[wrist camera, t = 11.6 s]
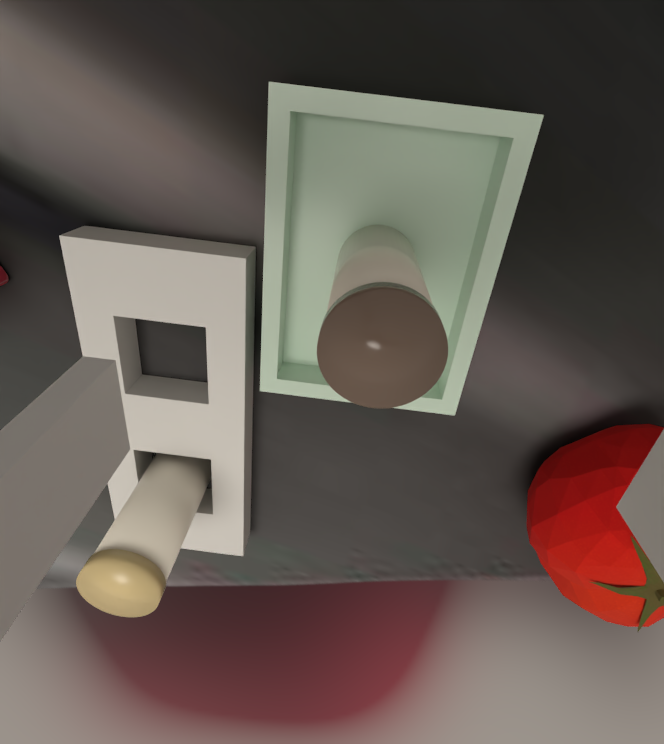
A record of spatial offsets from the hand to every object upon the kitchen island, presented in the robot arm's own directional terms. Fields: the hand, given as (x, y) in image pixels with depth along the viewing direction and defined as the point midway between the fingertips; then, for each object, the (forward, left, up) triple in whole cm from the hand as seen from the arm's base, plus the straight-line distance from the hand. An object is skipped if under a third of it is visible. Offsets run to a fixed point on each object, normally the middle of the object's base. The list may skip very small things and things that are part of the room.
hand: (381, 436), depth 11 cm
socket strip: (+12, -12, -17) cm, 24 cm away
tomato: (+14, +18, -17) cm, 28 cm away
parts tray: (0, 0, -17) cm, 17 cm away
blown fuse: (0, 0, -16) cm, 16 cm away
